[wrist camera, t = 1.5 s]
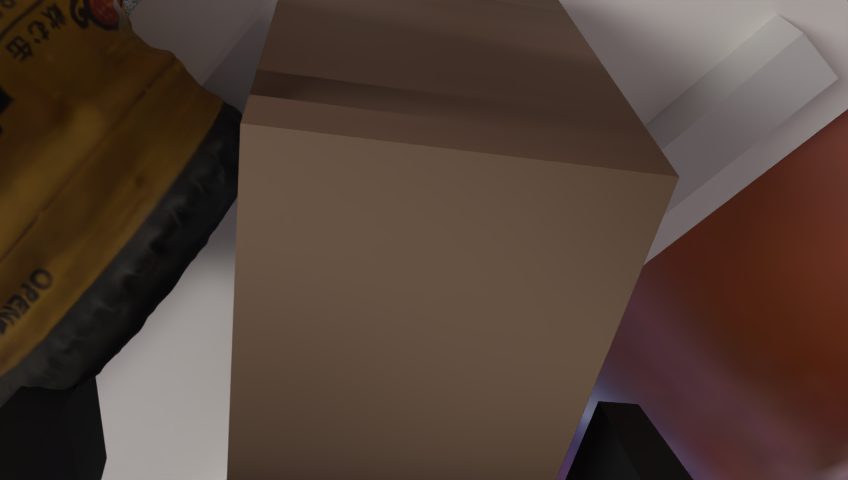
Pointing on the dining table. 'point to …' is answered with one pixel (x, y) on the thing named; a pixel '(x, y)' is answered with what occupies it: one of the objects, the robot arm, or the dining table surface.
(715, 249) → the dining table surface
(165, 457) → the notch ledge
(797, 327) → the dining table surface
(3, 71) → the condiment
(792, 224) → the dining table surface
